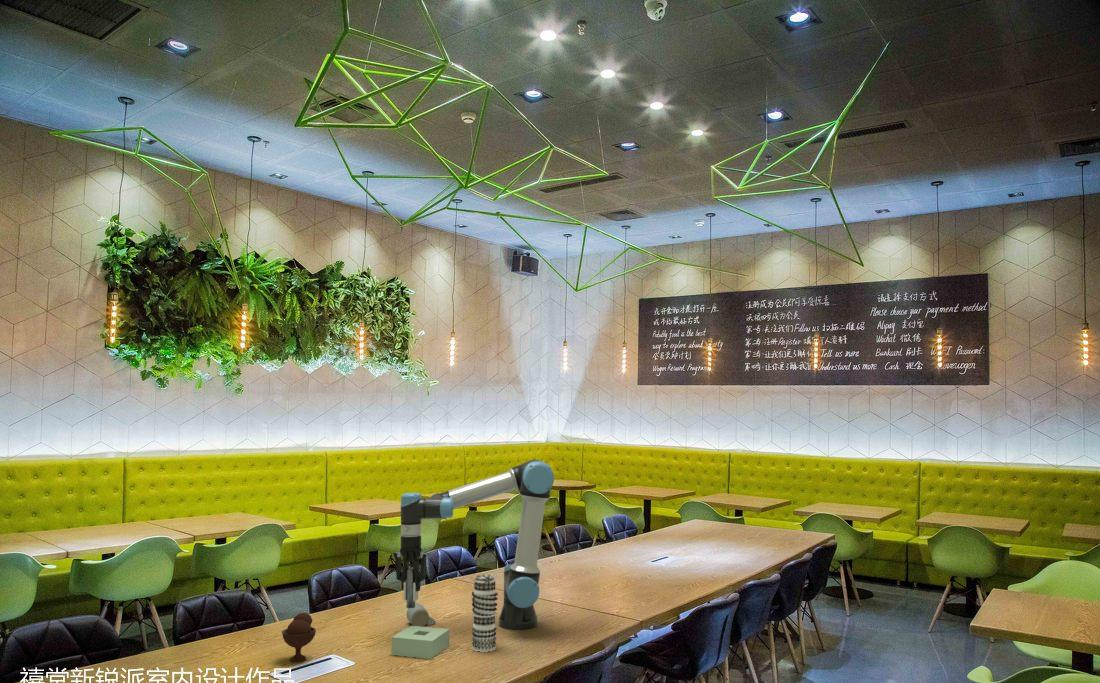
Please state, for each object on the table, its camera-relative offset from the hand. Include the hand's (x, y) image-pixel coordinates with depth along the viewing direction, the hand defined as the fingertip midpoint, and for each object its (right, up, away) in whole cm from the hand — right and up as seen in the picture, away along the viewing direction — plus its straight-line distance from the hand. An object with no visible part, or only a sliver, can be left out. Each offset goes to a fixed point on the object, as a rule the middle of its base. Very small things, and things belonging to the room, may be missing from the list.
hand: (410, 599), depth 286 cm
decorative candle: (+28, -13, -13) cm, 34 cm away
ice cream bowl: (-33, -11, -28) cm, 44 cm away
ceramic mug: (+1, -15, +16) cm, 22 cm away
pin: (0, -3, 0) cm, 3 cm away
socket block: (+7, -12, -17) cm, 22 cm away
